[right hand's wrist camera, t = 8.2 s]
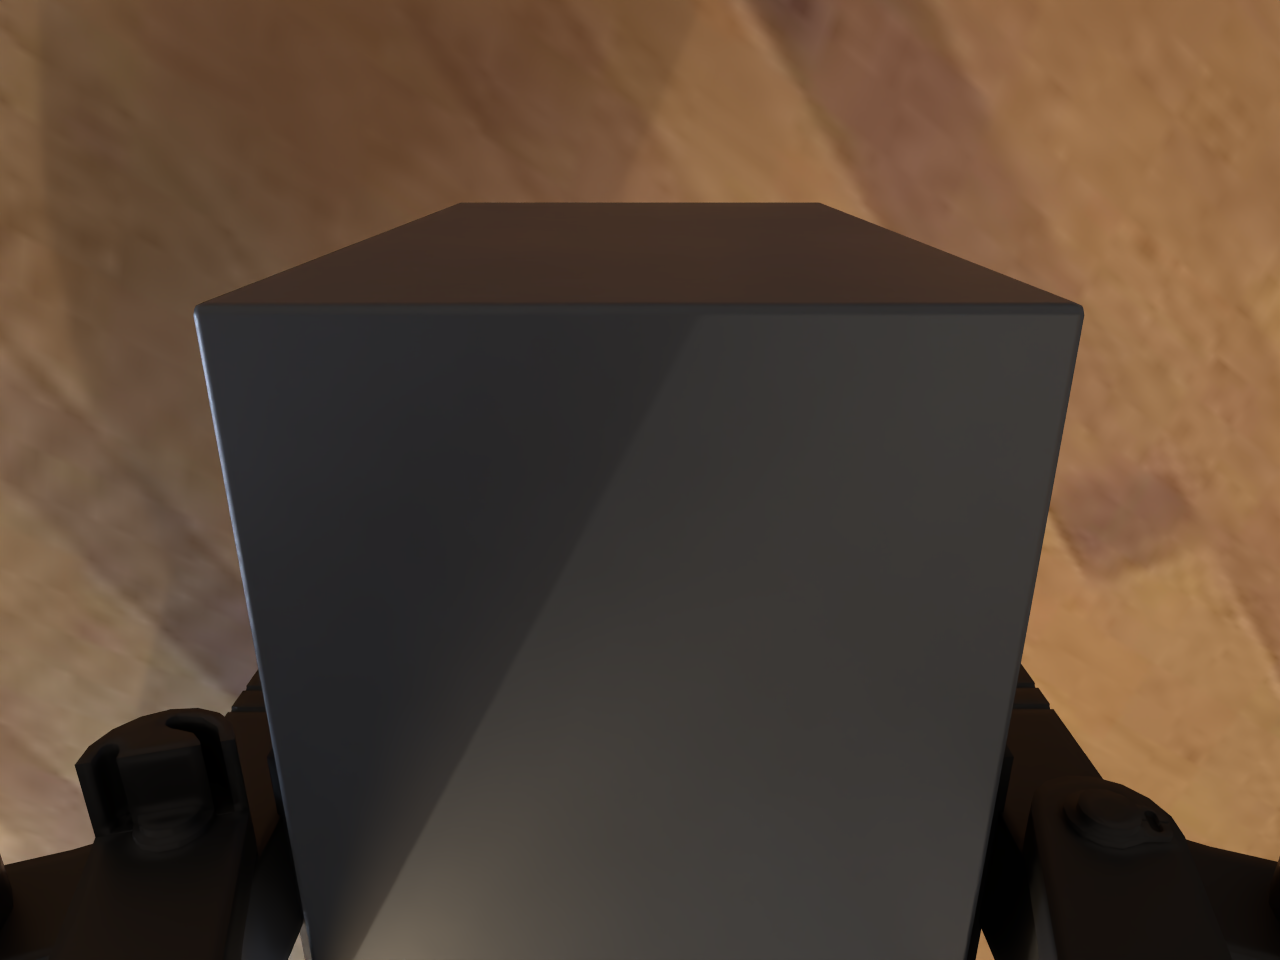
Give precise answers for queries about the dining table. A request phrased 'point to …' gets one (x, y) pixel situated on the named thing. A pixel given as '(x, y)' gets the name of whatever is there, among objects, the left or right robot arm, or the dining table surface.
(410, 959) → the beam
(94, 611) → the dining table surface
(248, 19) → the dining table surface
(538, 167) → the dining table surface
